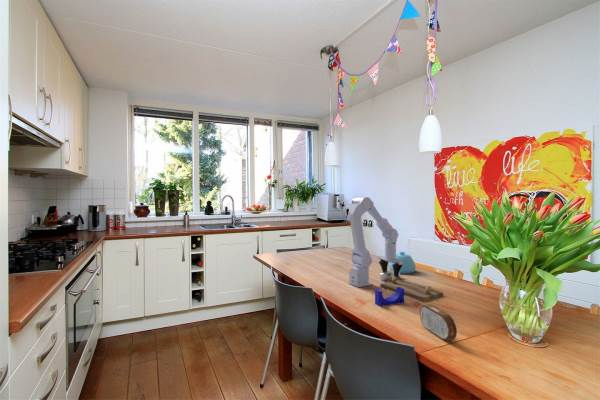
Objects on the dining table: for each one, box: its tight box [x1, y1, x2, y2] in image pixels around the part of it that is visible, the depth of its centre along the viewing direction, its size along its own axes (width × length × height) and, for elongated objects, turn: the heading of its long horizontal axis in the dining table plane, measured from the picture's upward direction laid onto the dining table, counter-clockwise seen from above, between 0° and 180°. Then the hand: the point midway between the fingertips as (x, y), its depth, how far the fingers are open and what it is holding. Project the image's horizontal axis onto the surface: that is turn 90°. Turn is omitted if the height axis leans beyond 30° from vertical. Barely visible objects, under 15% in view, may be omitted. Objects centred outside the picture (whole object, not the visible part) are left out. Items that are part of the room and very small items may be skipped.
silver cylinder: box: [379, 270, 401, 282], centre depth 162 cm, size 14×4×4 cm, turn 122°
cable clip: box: [374, 287, 405, 307], centre depth 127 cm, size 12×4×6 cm, turn 107°
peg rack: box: [379, 276, 444, 303], centre depth 141 cm, size 14×24×4 cm, turn 32°
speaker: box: [419, 303, 458, 341], centre depth 98 cm, size 15×3×8 cm, turn 13°
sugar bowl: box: [388, 251, 417, 275], centre depth 179 cm, size 15×15×12 cm
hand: (390, 275), depth 162 cm, fingers open, 7 cm apart
